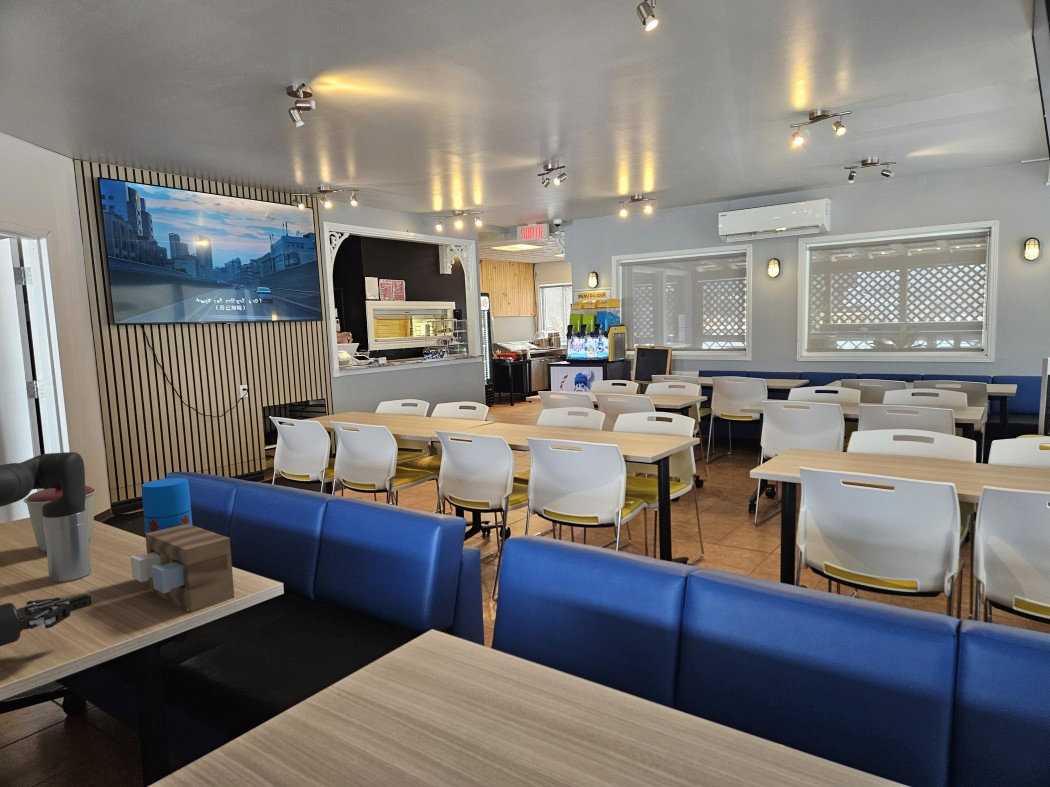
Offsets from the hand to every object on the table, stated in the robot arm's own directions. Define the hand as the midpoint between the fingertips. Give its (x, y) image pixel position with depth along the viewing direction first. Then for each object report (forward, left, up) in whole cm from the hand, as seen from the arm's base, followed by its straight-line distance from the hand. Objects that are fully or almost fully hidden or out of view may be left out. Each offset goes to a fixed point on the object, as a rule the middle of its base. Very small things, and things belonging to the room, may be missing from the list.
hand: (89, 599), depth 135 cm
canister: (-78, +18, -8) cm, 81 cm away
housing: (-6, +23, -8) cm, 25 cm away
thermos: (-23, +26, -8) cm, 36 cm away
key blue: (0, +19, -3) cm, 19 cm away
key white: (-12, +19, -3) cm, 23 cm away
